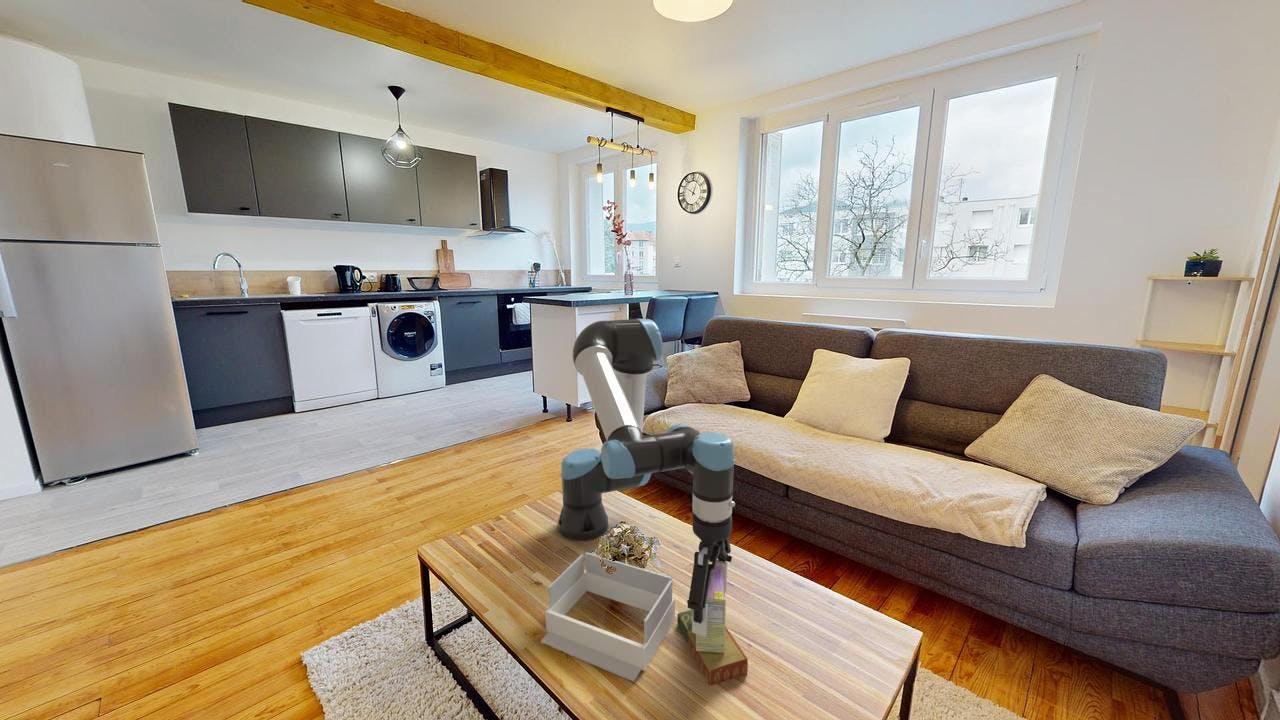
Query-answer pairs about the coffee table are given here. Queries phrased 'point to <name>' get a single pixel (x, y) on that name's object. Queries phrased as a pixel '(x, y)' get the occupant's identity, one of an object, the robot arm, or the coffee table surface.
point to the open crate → (619, 586)
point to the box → (714, 616)
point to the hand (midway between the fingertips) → (710, 610)
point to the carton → (714, 654)
